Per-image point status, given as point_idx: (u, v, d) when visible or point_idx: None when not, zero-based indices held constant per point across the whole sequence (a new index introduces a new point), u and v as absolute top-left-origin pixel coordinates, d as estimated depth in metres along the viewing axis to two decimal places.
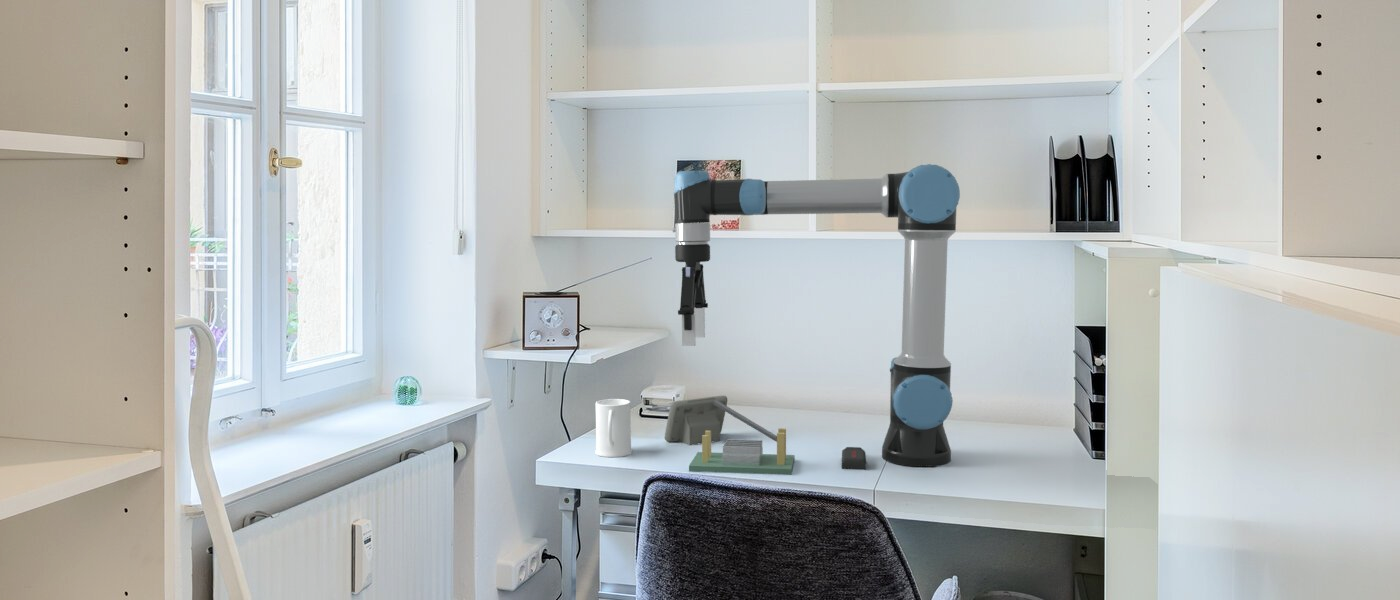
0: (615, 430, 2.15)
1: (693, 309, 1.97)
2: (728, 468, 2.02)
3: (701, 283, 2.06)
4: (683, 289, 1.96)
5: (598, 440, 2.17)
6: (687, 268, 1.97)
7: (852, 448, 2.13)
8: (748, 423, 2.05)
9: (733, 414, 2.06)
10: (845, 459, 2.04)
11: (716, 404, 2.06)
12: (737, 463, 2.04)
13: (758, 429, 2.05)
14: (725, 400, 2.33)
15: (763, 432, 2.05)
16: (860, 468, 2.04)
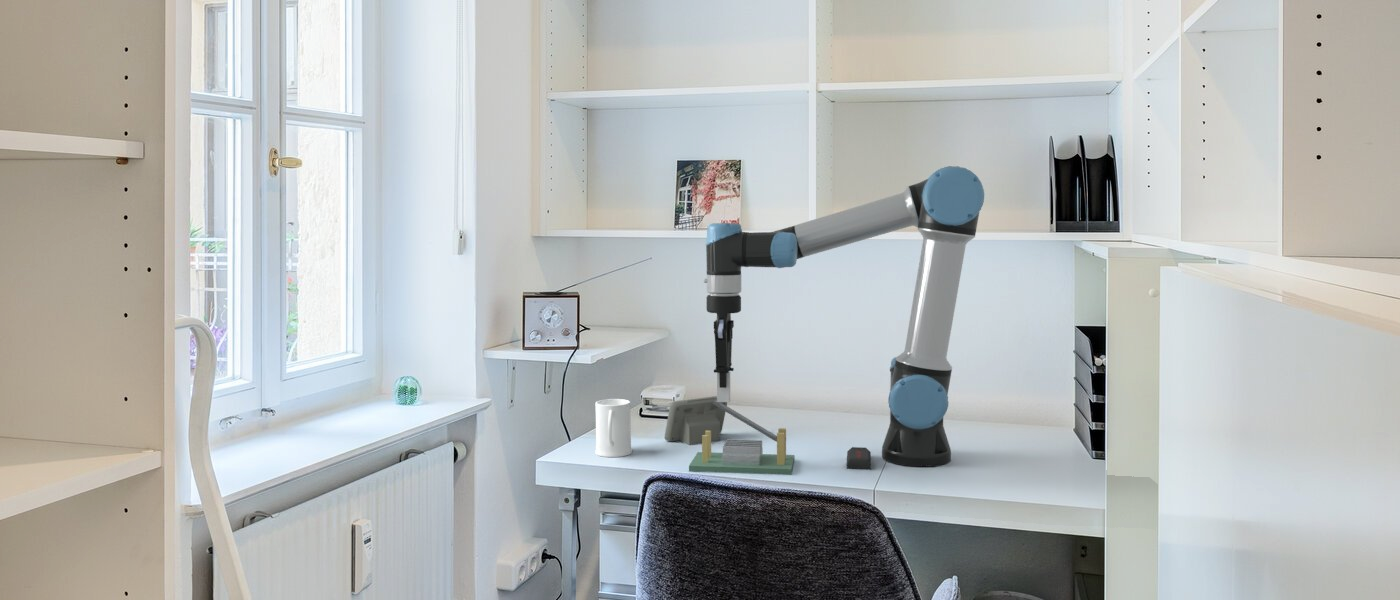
0: (615, 430, 2.15)
1: (728, 368, 2.05)
2: (728, 468, 2.02)
3: (730, 335, 2.06)
4: (717, 350, 2.01)
5: (598, 440, 2.17)
6: (719, 332, 1.99)
7: (857, 448, 2.13)
8: (748, 423, 2.05)
9: (733, 414, 2.06)
10: (850, 459, 2.04)
11: (716, 404, 2.06)
12: (737, 463, 2.04)
13: (758, 429, 2.05)
14: None
15: (763, 432, 2.05)
16: (865, 468, 2.04)
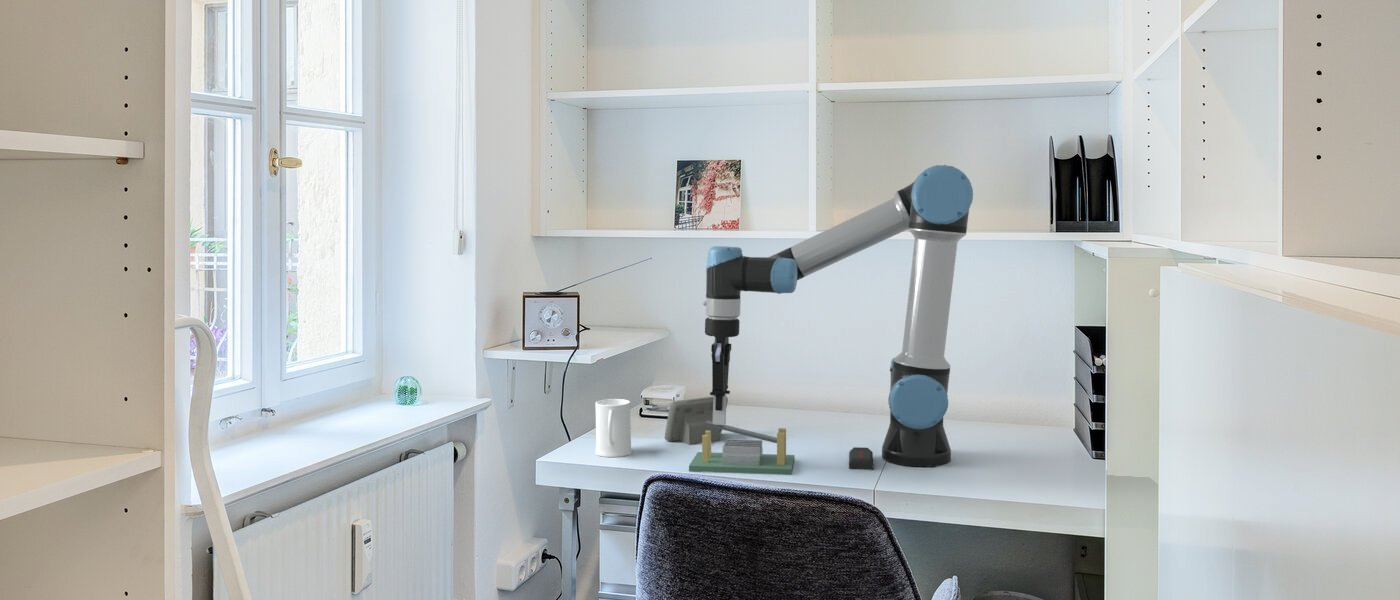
0: (615, 430, 2.15)
1: (724, 391, 2.05)
2: (728, 468, 2.02)
3: (728, 358, 2.07)
4: (714, 374, 2.02)
5: (598, 440, 2.17)
6: (717, 355, 2.00)
7: (859, 448, 2.13)
8: (744, 433, 2.06)
9: (727, 429, 2.06)
10: (852, 459, 2.04)
11: (708, 424, 2.07)
12: (737, 463, 2.04)
13: (755, 436, 2.05)
14: None
15: (761, 438, 2.05)
16: (867, 468, 2.04)
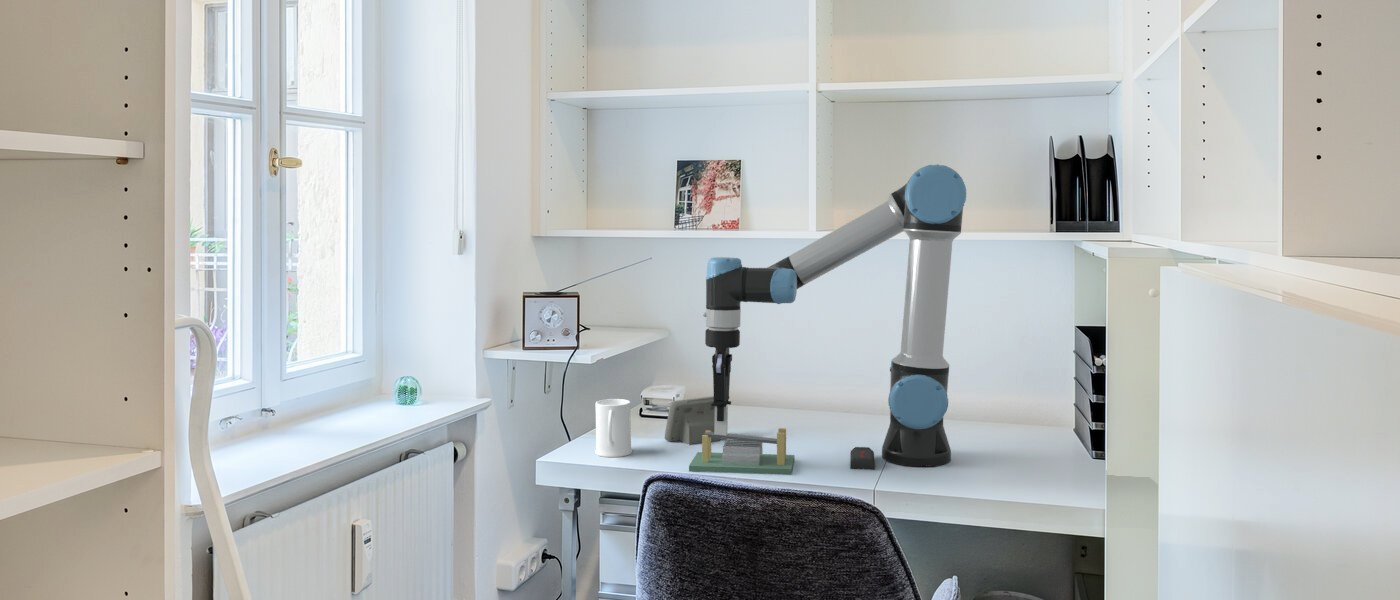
0: (615, 430, 2.15)
1: (726, 401, 2.05)
2: (728, 468, 2.02)
3: (728, 369, 2.07)
4: (715, 385, 2.02)
5: (598, 440, 2.17)
6: (717, 367, 2.00)
7: (860, 448, 2.13)
8: (743, 439, 2.06)
9: (726, 437, 2.06)
10: (854, 459, 2.04)
11: None
12: (737, 463, 2.04)
13: (755, 440, 2.05)
14: None
15: (760, 440, 2.05)
16: (869, 468, 2.04)
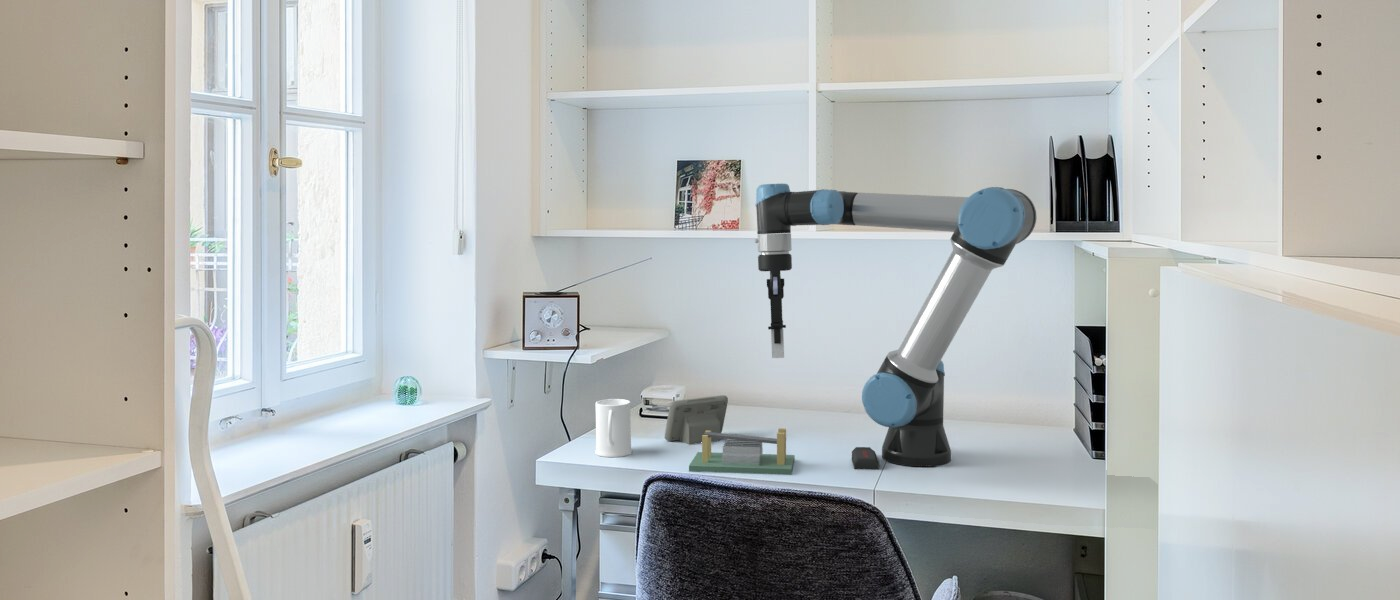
0: (615, 430, 2.15)
1: None
2: (728, 468, 2.02)
3: None
4: (772, 307, 2.08)
5: (598, 440, 2.17)
6: (774, 288, 2.06)
7: (862, 448, 2.13)
8: (743, 439, 2.06)
9: (726, 437, 2.06)
10: (858, 459, 2.04)
11: None
12: (737, 463, 2.04)
13: (755, 440, 2.05)
14: (725, 400, 2.33)
15: (760, 441, 2.05)
16: (873, 468, 2.04)
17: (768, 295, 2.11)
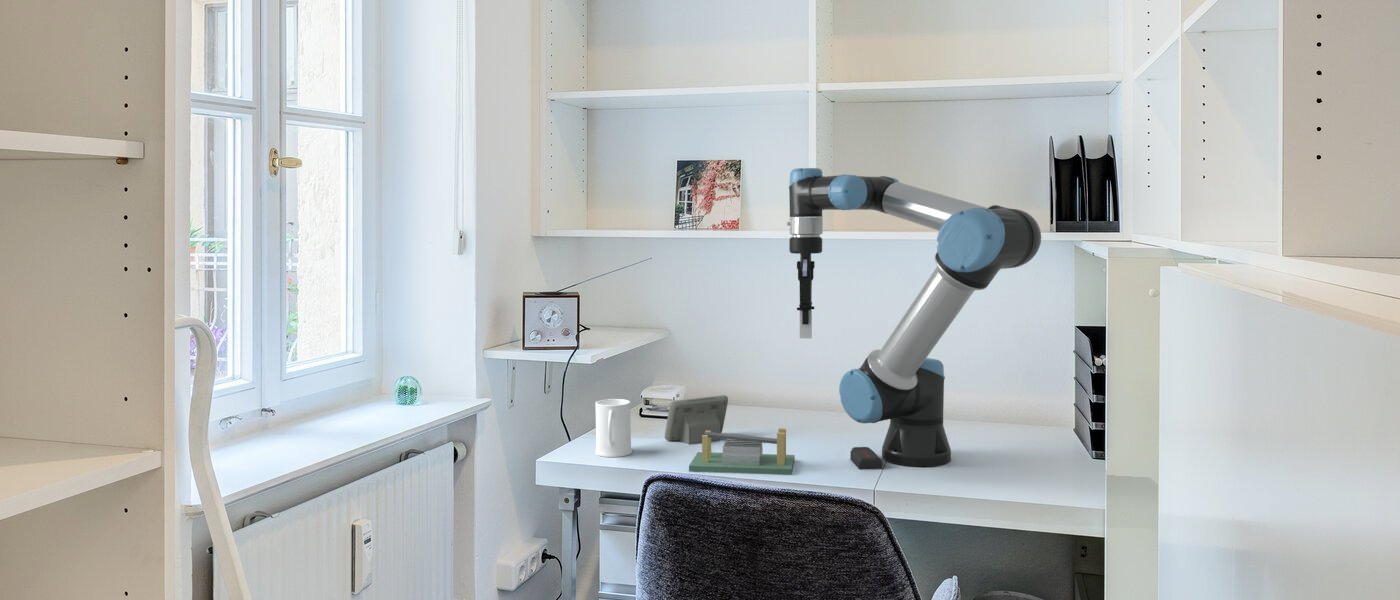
0: (615, 430, 2.15)
1: None
2: (728, 468, 2.02)
3: None
4: (801, 288, 2.13)
5: (598, 440, 2.17)
6: (804, 270, 2.11)
7: (860, 448, 2.13)
8: (743, 439, 2.06)
9: (726, 437, 2.06)
10: (862, 459, 2.04)
11: None
12: (737, 463, 2.04)
13: (755, 440, 2.05)
14: (725, 400, 2.33)
15: (760, 441, 2.05)
16: (877, 468, 2.04)
17: (798, 277, 2.16)
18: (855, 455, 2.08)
